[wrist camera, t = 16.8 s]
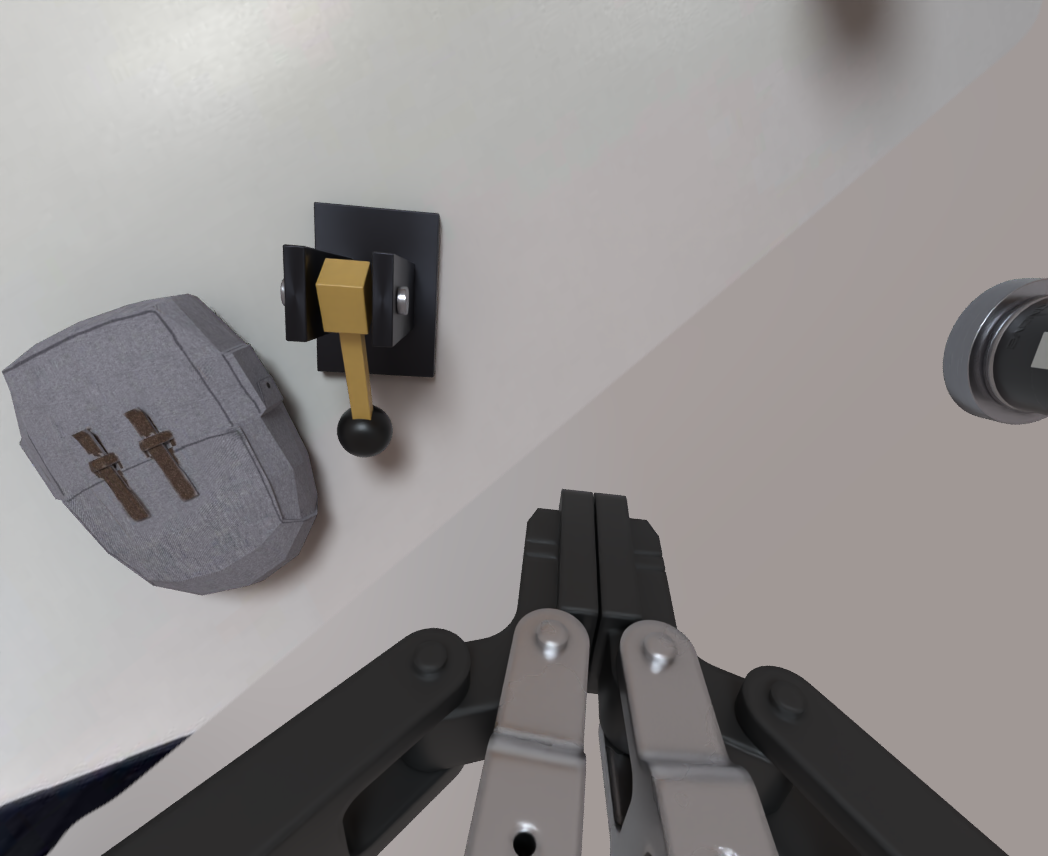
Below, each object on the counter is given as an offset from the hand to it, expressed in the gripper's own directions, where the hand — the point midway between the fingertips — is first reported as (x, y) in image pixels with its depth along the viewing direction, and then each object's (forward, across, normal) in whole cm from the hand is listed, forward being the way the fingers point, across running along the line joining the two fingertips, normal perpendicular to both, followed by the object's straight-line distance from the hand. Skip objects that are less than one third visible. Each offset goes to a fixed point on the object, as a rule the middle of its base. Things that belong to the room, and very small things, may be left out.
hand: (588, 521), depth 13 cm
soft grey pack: (+21, -25, -14) cm, 36 cm away
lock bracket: (+26, -14, -4) cm, 30 cm away
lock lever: (+19, -12, -5) cm, 23 cm away
